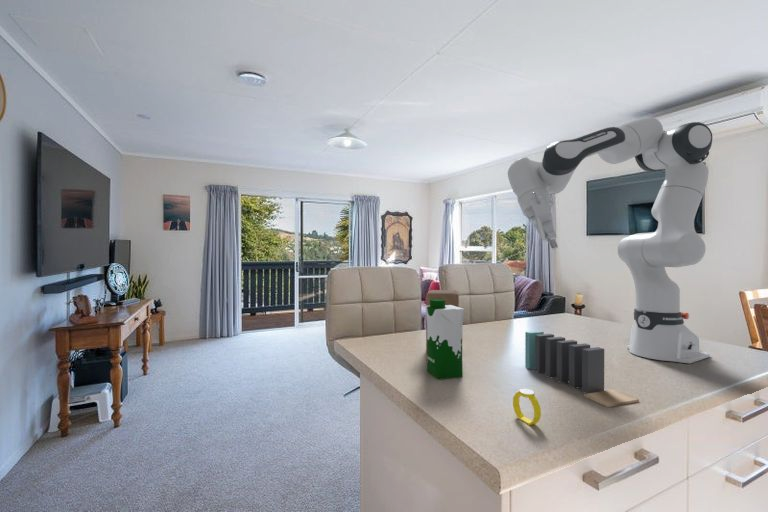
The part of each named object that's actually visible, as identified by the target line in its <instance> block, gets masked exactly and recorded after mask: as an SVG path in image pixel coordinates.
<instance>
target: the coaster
mask: <svg viewBox="0 0 768 512" xmlns="http://www.w3.org/2000/svg"><path fill="white" fill-rule="evenodd" d="M583 397H584V398H586V399H589V400H590V401H594V402H596V403H597V404H600V405H601V406H605V407H607V408H611V407H617V406H622V405H623V406H624V405H628V404H633V403H638V402H640V399H638V398H636V397H634V396H631V395H629V394H626V393H624V392H621V391H618V390H617V389H614V388H613V389H612V388H611V389H607V390H604V391H600V392H594V393H588V394H586V393H584V394H583Z"/></svg>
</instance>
